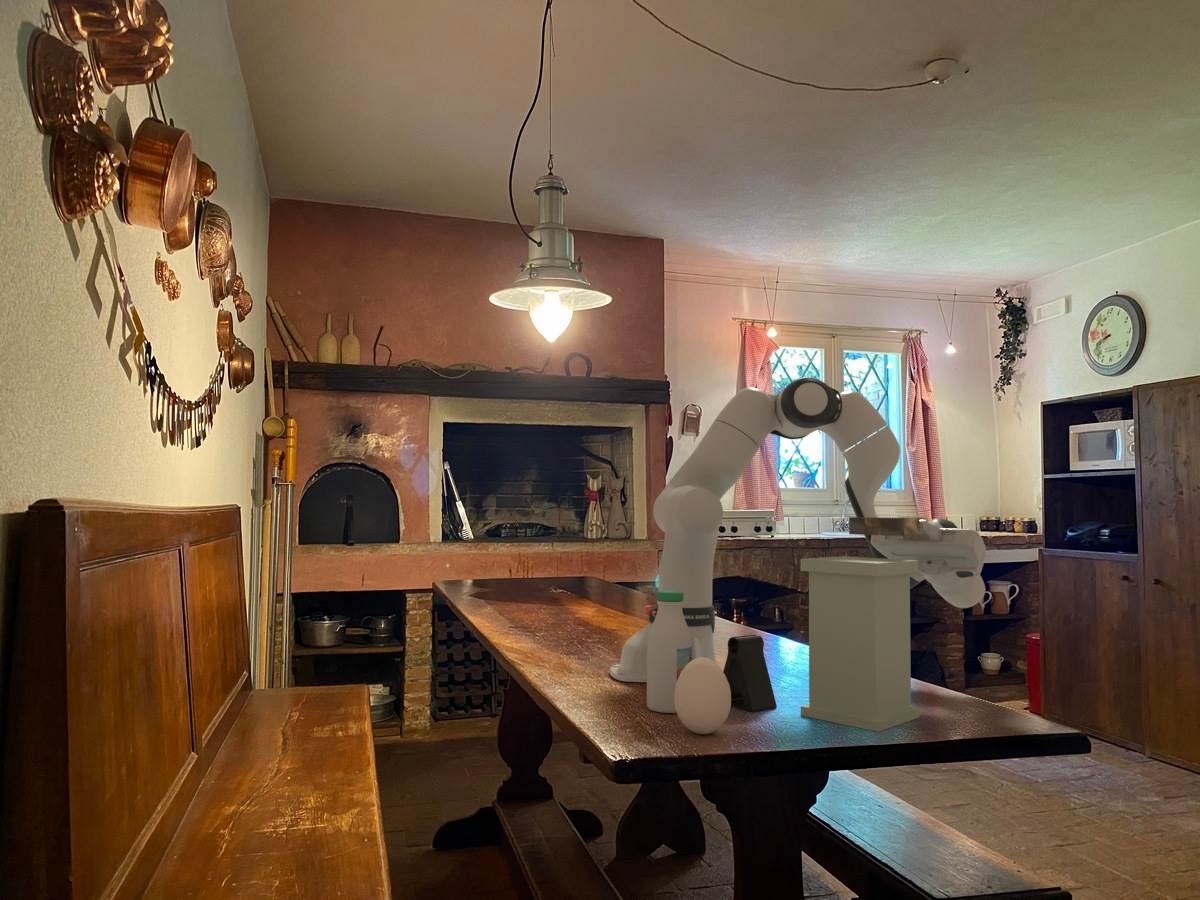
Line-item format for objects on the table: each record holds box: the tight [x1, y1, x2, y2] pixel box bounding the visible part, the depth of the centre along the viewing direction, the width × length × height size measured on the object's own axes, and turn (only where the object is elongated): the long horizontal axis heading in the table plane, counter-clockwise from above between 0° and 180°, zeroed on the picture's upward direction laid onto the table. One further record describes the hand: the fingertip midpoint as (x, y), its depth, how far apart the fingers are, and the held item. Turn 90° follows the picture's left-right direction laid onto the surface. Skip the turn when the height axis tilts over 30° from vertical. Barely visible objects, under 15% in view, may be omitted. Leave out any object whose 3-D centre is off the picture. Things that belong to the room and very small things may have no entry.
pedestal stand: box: [800, 555, 921, 733], centre depth 145 cm, size 14×14×26 cm
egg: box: [674, 657, 732, 735], centre depth 132 cm, size 9×9×11 cm
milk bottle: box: [646, 590, 692, 714], centre depth 148 cm, size 8×8×20 cm
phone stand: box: [722, 634, 778, 713], centre depth 151 cm, size 9×6×12 cm, turn 36°
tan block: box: [848, 516, 929, 536], centre depth 156 cm, size 18×9×3 cm, turn 135°
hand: (909, 522), depth 159 cm, fingers closed on tan block, 3 cm apart
